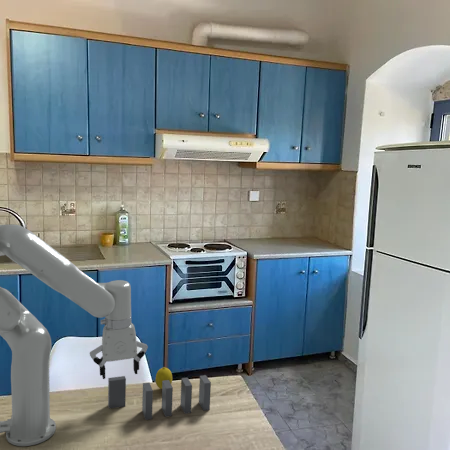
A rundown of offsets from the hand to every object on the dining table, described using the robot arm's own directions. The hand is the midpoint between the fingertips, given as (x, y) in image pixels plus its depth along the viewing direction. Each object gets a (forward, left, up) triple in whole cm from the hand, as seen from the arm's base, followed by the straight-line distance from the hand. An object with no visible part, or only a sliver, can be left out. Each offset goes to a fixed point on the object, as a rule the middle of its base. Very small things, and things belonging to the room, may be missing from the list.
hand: (119, 374), depth 140 cm
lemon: (+15, +5, -10) cm, 19 cm away
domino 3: (+13, -8, -10) cm, 18 cm away
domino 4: (+19, -8, -10) cm, 23 cm away
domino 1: (-1, 0, -10) cm, 10 cm away
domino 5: (+25, -8, -10) cm, 28 cm away
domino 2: (+7, -8, -10) cm, 15 cm away
